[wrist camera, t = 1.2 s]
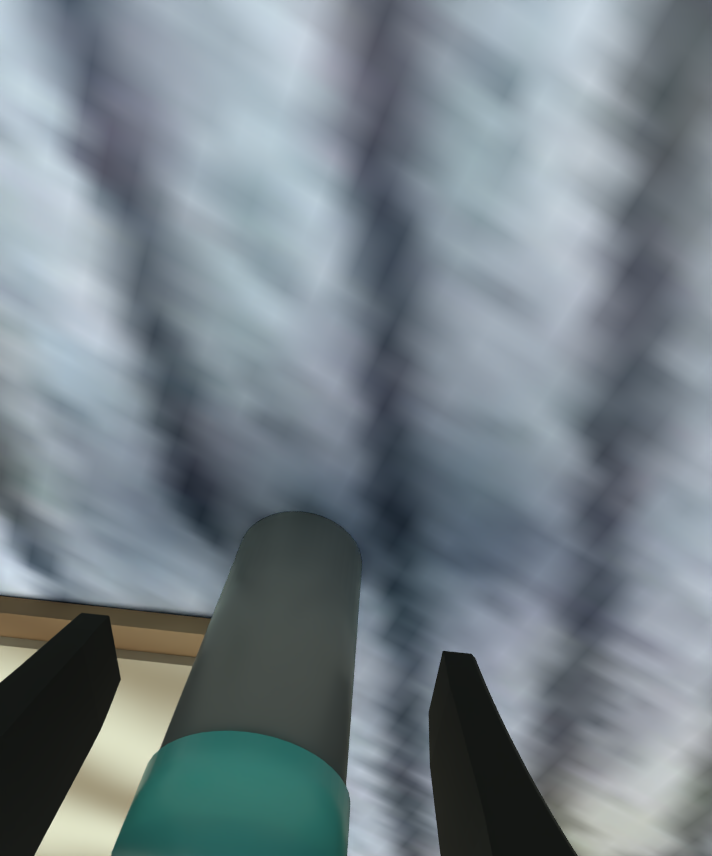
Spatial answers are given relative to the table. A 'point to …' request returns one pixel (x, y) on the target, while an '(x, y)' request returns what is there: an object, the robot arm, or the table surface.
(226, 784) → the teal topped grey cylinder
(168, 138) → the table surface
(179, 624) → the clipboard
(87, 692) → the robot arm
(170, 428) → the table surface
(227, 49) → the table surface
